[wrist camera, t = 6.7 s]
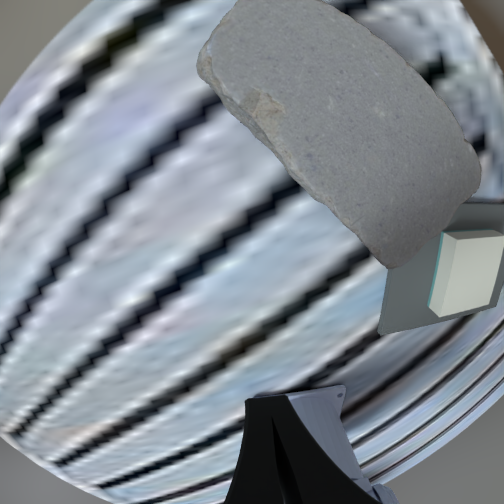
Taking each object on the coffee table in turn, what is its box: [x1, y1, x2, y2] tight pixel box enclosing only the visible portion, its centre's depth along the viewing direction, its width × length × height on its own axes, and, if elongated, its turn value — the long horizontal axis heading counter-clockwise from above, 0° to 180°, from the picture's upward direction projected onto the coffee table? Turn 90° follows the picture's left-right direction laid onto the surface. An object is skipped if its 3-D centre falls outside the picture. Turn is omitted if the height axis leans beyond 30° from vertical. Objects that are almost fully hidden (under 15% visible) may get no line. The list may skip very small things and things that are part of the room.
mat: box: [377, 202, 504, 335], centre depth 21 cm, size 10×14×1 cm
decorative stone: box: [196, 0, 482, 270], centre depth 14 cm, size 15×7×10 cm
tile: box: [427, 229, 504, 317], centre depth 20 cm, size 6×2×6 cm
